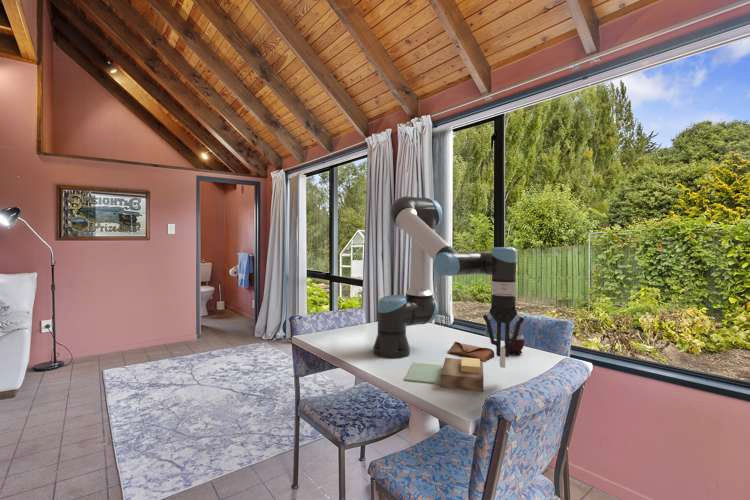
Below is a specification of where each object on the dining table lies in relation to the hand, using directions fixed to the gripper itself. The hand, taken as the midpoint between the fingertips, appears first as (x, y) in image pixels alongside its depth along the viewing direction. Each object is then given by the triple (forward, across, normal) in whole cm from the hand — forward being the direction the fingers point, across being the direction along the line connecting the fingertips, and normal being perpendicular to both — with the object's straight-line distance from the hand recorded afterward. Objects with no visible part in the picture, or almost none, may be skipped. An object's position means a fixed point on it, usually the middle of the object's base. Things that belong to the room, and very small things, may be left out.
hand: (502, 366), depth 123 cm
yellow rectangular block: (+2, -10, 0) cm, 10 cm away
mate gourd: (+6, +8, +37) cm, 38 cm away
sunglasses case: (+6, -11, +29) cm, 31 cm away
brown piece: (+6, -13, 0) cm, 14 cm away
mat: (+6, -25, +2) cm, 26 cm away
